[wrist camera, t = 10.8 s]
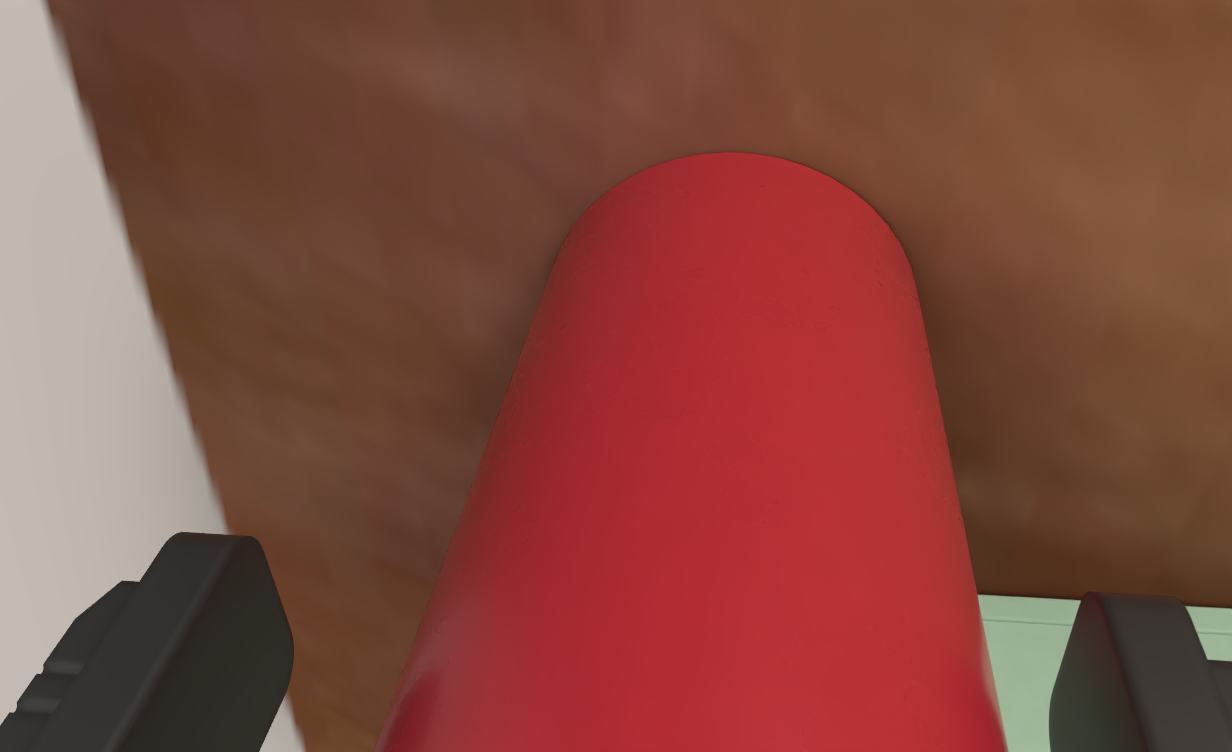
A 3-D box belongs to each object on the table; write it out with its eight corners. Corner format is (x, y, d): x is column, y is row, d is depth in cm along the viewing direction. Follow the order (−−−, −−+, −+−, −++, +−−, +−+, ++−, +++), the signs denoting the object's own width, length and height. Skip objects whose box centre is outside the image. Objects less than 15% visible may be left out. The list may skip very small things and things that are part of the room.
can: (528, 152, 15) (178, 853, 6) (939, 149, 14) (1174, 950, 5) (564, 459, 18) (365, 1198, 9) (900, 471, 17) (1011, 1292, 9)
